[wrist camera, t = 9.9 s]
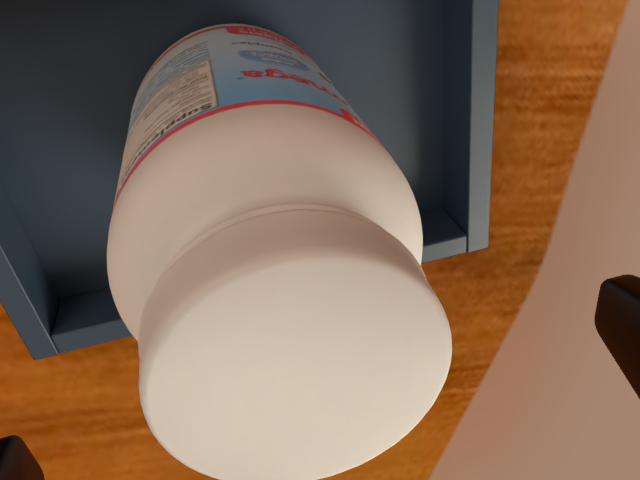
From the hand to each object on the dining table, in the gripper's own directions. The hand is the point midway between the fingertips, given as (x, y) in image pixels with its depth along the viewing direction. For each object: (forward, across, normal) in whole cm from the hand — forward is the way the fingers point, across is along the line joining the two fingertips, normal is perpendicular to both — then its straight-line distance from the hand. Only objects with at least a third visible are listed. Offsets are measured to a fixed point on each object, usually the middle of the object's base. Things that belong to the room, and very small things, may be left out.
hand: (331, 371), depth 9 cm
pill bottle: (+11, 0, 0) cm, 11 cm away
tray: (+12, 0, 0) cm, 12 cm away
